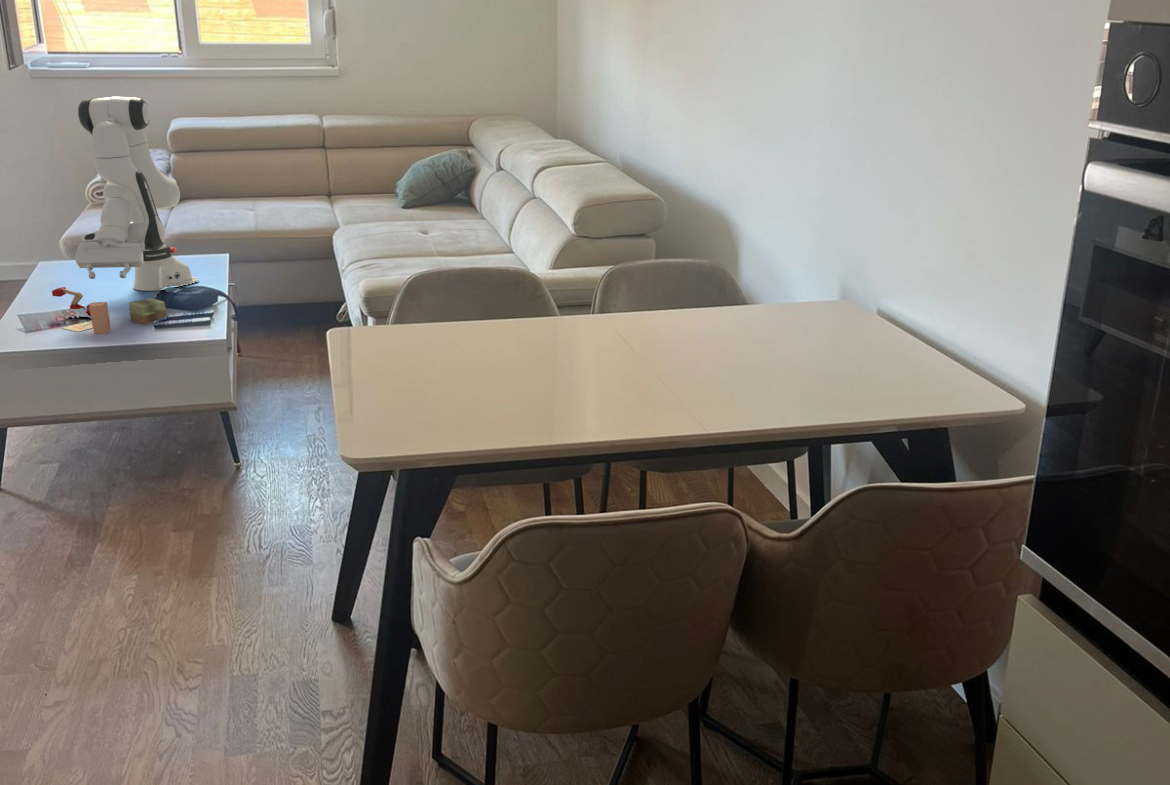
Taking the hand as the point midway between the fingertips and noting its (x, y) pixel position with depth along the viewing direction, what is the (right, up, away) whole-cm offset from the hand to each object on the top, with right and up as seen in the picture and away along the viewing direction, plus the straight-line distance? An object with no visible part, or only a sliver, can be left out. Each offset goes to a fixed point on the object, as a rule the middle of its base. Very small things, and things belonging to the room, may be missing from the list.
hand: (107, 277), depth 338 cm
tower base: (+11, -13, +7) cm, 18 cm away
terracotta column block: (+1, -17, -6) cm, 18 cm away
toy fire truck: (-14, -12, +10) cm, 21 cm away
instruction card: (-7, -15, 0) cm, 17 cm away
